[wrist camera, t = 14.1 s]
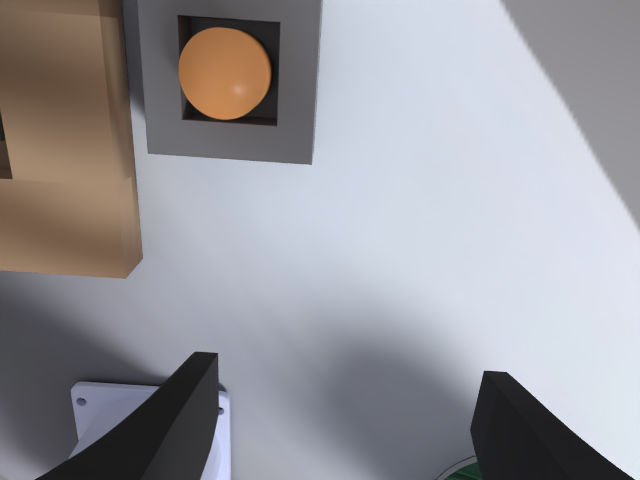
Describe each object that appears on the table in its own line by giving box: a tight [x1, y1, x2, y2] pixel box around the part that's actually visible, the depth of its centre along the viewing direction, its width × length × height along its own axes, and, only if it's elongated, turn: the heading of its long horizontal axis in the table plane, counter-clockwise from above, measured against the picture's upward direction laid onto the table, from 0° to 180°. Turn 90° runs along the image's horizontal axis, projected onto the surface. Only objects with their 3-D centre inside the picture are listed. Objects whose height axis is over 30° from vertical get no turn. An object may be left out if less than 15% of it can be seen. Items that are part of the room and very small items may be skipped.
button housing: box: [137, 0, 323, 165], centre depth 18 cm, size 6×6×2 cm
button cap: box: [178, 27, 274, 120], centre depth 17 cm, size 3×3×2 cm
